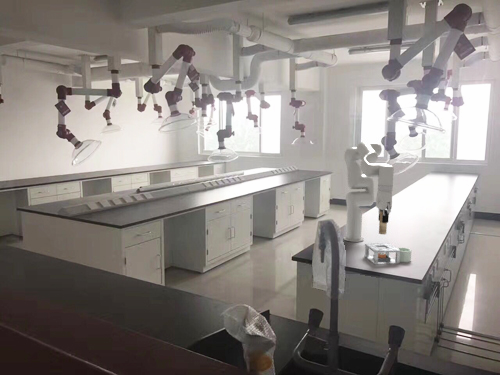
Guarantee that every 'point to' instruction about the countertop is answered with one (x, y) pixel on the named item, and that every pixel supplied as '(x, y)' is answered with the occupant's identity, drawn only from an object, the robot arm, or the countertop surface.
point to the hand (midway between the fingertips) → (383, 221)
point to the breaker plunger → (381, 255)
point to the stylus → (382, 224)
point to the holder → (405, 255)
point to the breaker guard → (386, 250)
